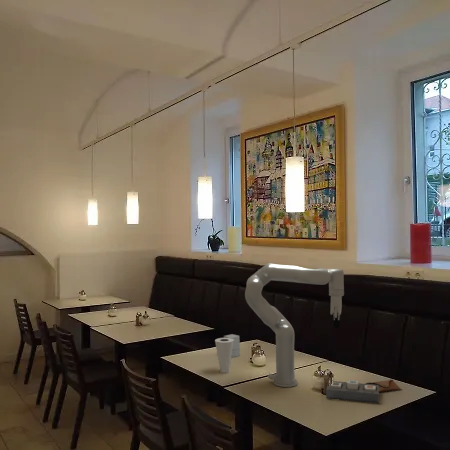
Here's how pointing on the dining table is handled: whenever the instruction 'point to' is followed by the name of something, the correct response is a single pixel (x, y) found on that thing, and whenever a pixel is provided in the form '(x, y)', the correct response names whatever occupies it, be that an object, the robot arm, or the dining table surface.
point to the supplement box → (234, 345)
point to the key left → (336, 385)
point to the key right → (370, 388)
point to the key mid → (352, 384)
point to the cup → (224, 353)
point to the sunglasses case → (386, 386)
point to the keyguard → (353, 393)
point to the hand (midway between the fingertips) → (336, 327)
